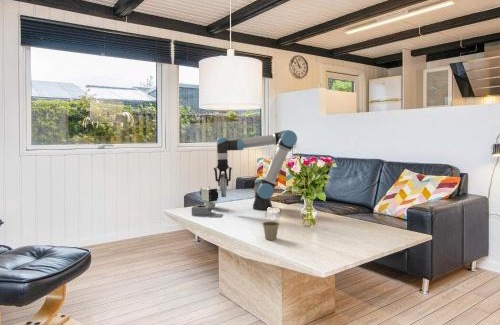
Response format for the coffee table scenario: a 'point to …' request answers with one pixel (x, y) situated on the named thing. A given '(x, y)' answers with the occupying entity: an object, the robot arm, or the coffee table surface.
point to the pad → (216, 215)
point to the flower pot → (270, 230)
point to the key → (223, 185)
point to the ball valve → (209, 195)
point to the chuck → (201, 210)
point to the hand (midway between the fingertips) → (223, 190)
